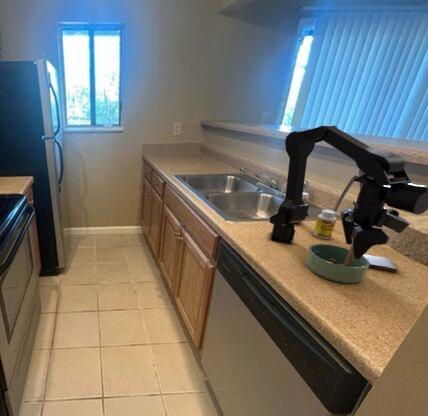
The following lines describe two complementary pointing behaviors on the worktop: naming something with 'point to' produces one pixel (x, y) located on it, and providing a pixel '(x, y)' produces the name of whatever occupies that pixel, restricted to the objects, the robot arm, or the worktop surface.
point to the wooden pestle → (349, 258)
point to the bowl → (335, 272)
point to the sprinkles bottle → (305, 198)
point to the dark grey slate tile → (380, 263)
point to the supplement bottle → (325, 224)
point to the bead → (332, 260)
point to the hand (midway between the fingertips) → (352, 251)
